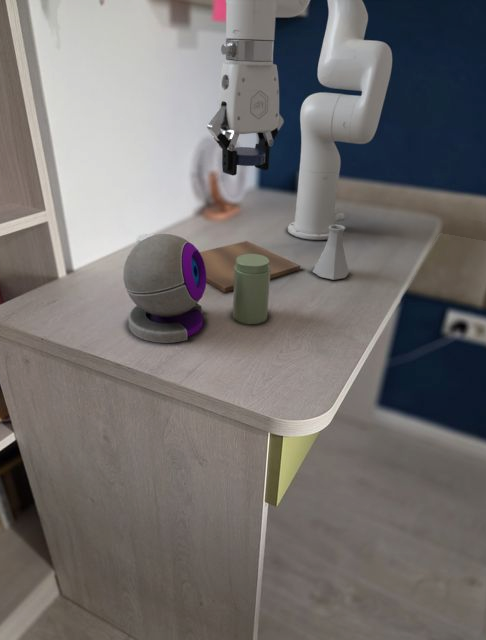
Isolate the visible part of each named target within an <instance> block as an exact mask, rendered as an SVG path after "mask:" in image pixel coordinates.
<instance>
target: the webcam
mask: <svg viewBox="0 0 486 640" xmlns="http://www.w3.org/2000/svg"><path fill="white" fill-rule="evenodd" d="M200 252H201V251H199V250H198V249H197V247H196V245H194V244H193V243H191V242H190V241H189V240H187V239H185V238H183V237H181V236H179V235H176V234H170V233H158V234H153V236H150V237H148V238H146V239H144V240H142V241H141V242H139V243H138V244H137V243H136V245H135V246H134V247H133V248H132V249H131V250H130V251H129V254H128V255H127V257H126V259H125V262H124V266H123V275H122V276H123V284H124V288H125V290H126V293H127V295H128V296H129V298H130V299H131V300H132V302H133V303H134V304H135V306H134V307H132V309H131V310H130V311H129V314H128V317H127V318H128V319H127V321H128V322H127V323H128V328H129V331H130V332H131V333H132V334H133V335H135V337H138V338H140V339H141V340H144V341H149V342H153V343H162V344H168V343H169V344H170V343H179V342H184V341H188V337H190V336H193V335H194V334H196V333H197V332H199V331H200V329H201V328H202V327H203V324H204V323H203V307H202V305H201V304H200V303H199V302H200V300H201V299H202V297H203V295H204V294H205V292H206V291H205V290H206V287H207V282H206V269H205V264H204V261H203V258H202V256H201V254H200Z"/></svg>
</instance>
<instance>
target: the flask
mask: <svg viewBox="0 0 486 640" xmlns="http://www.w3.org/2000/svg"><path fill="white" fill-rule="evenodd" d="M328 228H329V230H330V232H329V237H328V239H327V241H326V244H325V246H324V248H323V250H322V251H321V252H322V253H321V254H320V256H319V258H318V260H317V262H316V263H315V265H314V268H313V270H312V273H314V274H315V275H317V277H320V278H324V279H328V280H332V281H334V280H340V279H346V277H347V276H348V275H349V274H350V270H349V267H348V263H347V258H346V253H345V249H344V232H345V230H346V226H344V225H343V224H342V225H341V224H336V223H335V225H330V226H329V227H328Z"/></svg>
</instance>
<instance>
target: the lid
mask: <svg viewBox="0 0 486 640" xmlns="http://www.w3.org/2000/svg"><path fill="white" fill-rule="evenodd" d="M234 150H235V151H237V166H242V167H243V166H244V167H255V166H257V165H262V164H264V163H265V162H266V155H265V154H266V152H265V151H264V150H262V149H258V148H255V147H249V146H238V147H236V146H235V148H234Z"/></svg>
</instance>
